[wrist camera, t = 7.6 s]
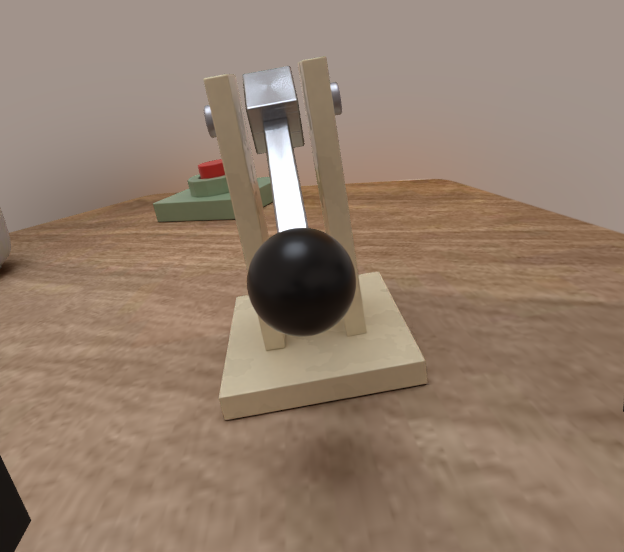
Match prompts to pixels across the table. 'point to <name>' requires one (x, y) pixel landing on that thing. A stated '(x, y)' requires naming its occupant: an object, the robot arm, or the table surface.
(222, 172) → the button
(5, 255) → the teacup
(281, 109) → the lever
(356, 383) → the bracket
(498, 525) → the table surface
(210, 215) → the control block
